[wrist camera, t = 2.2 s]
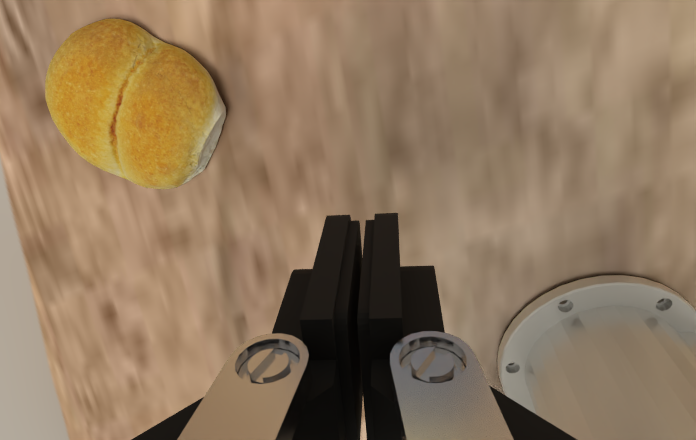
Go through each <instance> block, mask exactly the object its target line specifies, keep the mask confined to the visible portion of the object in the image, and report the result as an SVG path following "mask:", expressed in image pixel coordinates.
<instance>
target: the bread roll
mask: <svg viewBox="0 0 696 440" xmlns="http://www.w3.org/2000/svg"><path fill="white" fill-rule="evenodd" d="M45 89H46V101H47V105H48V108H49V111H50V114H51V116H52V119H53V121H54V123H55V124H56V126H57V128H58V129H59V131H60V132H61V134H62V135H63V136H64V138H65V139H66V141H67V142H68V143H69V144H70V145H71V147H72V148H73V149H74V150H75V151H76V152H77V153H78V154H79V155H80V156H81V157H82V158H84V159H85V160H86V161H88V162H89V163H91V164H92V165H94V166H96V167H99V168H100V169H102V170H104V171H107V172H109V173H112V174H114V175H117V176H120V177H122V178H125V179H127V180H129V181H132V182H133V183H135V184H137V185H140V186H143V187H146V188H155V189H171V188H176V187H178V186H180V185H182V184H185V183H186V182H188V181H190V180H191V179H192V178H193V177H195V176H196V175H198V174H199V173H200V172H202V171H203V170H204V169H205V166H206V165H207V163H208V161H209V159H210V157H211V155H212V153H213V152H214V150H215V148H216V145H217V143H218V139H219V136H220V134H221V130H222V125H223V123H224V120H225V118H226V107H225V105H224V103H223V101H222V99H221V97H220V95H219V93H218V91H217V88H216V85H215V83H214V81H213V79H212V78H211V76H210V74H209V73H208V71H207V70H206V69H205V68H204V67H203V66H202V65H201V64H200V63H199V62H198V61H197V60H196V59H195V58H194V57H193V56H191V55H190V54H189V53H187V52H186V51H184V50H183V49H180V48H178V47H175V46H173V45H170V44H167V43H165V42H163V41H161V40H159V39H157V38H155V37H153V36H152V35H151V34H149V33H148V32H147V31H146V30H144V29H142V28H141V27H139V26H137V25H135V24H134V23H132V22H129V21H125V20H122V19H104V20H101V21H98V22H94V23H92V24H89V25H87V26H85V27H83V28H81V29H79V30H77V31H75V32H74V33H72V34H71V35H70V36H69V37H68V39H67V40H65V42H64V43H63V44H62V45H61V47H60V48H59V49H58V50H57V52H56V53H55V55H54V57H53V59H52V61H51V62H50V65H49V68H48V71H47V75H46V81H45Z"/></svg>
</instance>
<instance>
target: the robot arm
mask: <svg viewBox="0 0 696 440" xmlns="http://www.w3.org/2000/svg"><path fill="white" fill-rule="evenodd" d="M497 366H498V374H499V378H500V382H501V385H502V388H503V392H504V393H505V395H506V396H505V395H504V394H502V393H500V392H499V391H497V390H496V389H494V388H492V387H491V386H489V384H488V382H487V380H486V378H485V376H484V373H483V371H482V369H481V367H480V365H479V362H478V360H477V358H476V356H475V354H474V352H473V351H472V349H471V348H470V347H469V345H468V344H466V343H465V342H464V341H462V340H461V339H460V338H458V337H455V336H453V335H451V334H448V333H445V331H444V325H443V319H442V313H441V306H440V300H439V294H438V288H437V281H436V275H435V269H434V266H405V267H400V254H399V229H398V213H386V214H375V220H366V226H365V236H364V247H363V258H362V247H361V234H360V223H359V221H351V217H350V215H335V216H327V217H326V220H325V224H324V228H323V232H322V235H321V239H320V243H319V247H318V251H317V255H316V258H315V262H314V266H313V269H299V270H293V272H292V274H291V277H290V280H289V283H288V286H287V289H286V292H285V295H284V298H283V301H282V304H281V307H280V310H279V313H278V316H277V319H276V322H275V325H274V328H273V331H272V334H266V335H261V336H257V337H255V338H253V339H250V340H248V341H246V342H245V343H243V344H242V345H240V346H239V347H238V348H236V350H235V351H234V352H233V353H232V354H231V355H230V357H229V358H228V360H227V362H226V363H225V365H224V366H223V368H222V369H221V371H220V373H219V374H218V376H217V377H216V379H215V381H214V382H213V384H212V385H211V387H210V388H209V390H208V392H207V393H206V395H205V396H204V397H203V398H201V399H200V400H198V401H196V402H195V403H193V404H191V405H190V406H188V407H186V408H184V409H183V410H181V411H179V412H178V413H176V414H174V415H173V416H171V417H169V418H167V419H166V420H164V421H162V422H161V423H159V424H157V425H156V426H154V427H152V428H150V429H149V430H147V431H145V432H144V433H142V434H140V435H139V436H137V437H135V438H133V439H132V440H360V431H361V414H362V398H364V409H365V421H366V432H367V440H696V310H695V309H694V308H693V307H692V306H691V304H690V303H688V302H687V301H686V300H685V299H684V298H683V297H682V296H681V295H680V294H678V293H677V292H675V291H674V290H672V289H670V288H668V287H666V286H665V285H663V284H660V283H657V282H654V281H651V280H648V279H645V278H640V277H633V276H625V275H606V276H596V277H591V278H585V279H580V280H577V281H574V282H571V283H568V284H565V285H562V286H559V287H557V288H555V289H553V290H551V291H549V292H547V293H545V294H543V295H541V296H540V297H539V298H537V299H536V300H535V301H533V302H532V303H530V304H529V305H528V306H526V307H525V308H524V309H523V310H522V311H521V312H520V313H519V314H518V315H517V317H516V318H515V319H514V320H513V321H512V323H511V324H510V326H509V327H508V329H507V330H506V332H505V333H504V336H503V338H502V341H501V344H500V346H499V351H498V358H497Z"/></svg>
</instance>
